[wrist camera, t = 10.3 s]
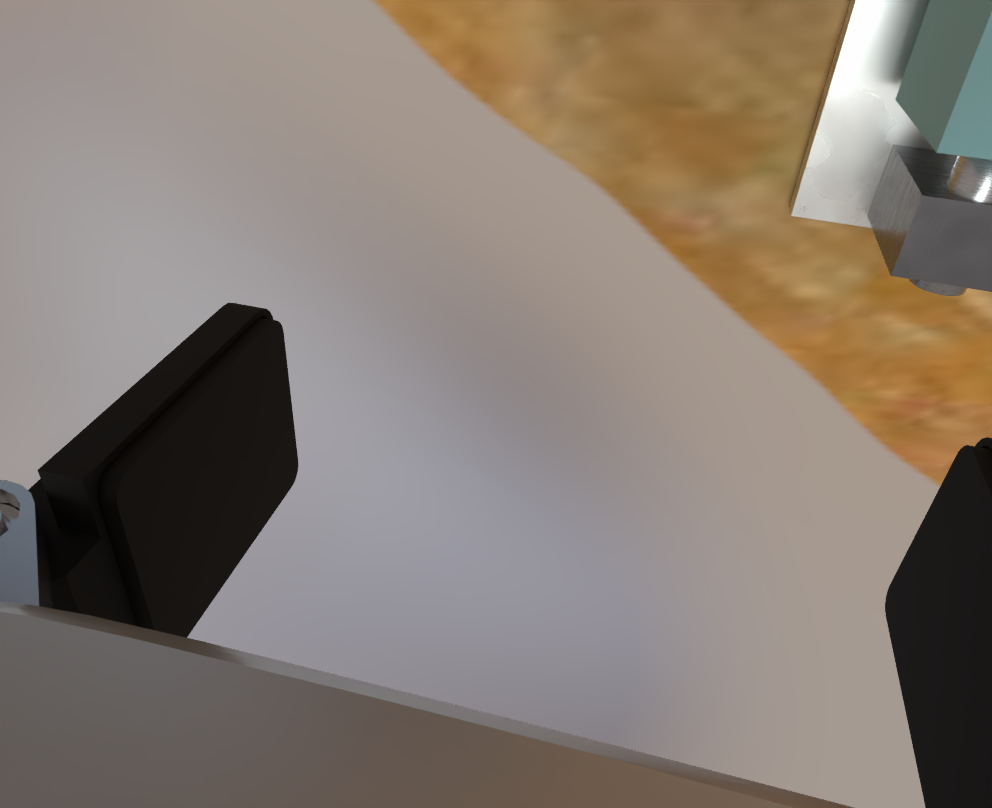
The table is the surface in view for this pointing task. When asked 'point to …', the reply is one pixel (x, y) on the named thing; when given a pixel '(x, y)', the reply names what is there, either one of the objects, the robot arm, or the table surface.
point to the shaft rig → (894, 161)
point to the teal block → (952, 78)
